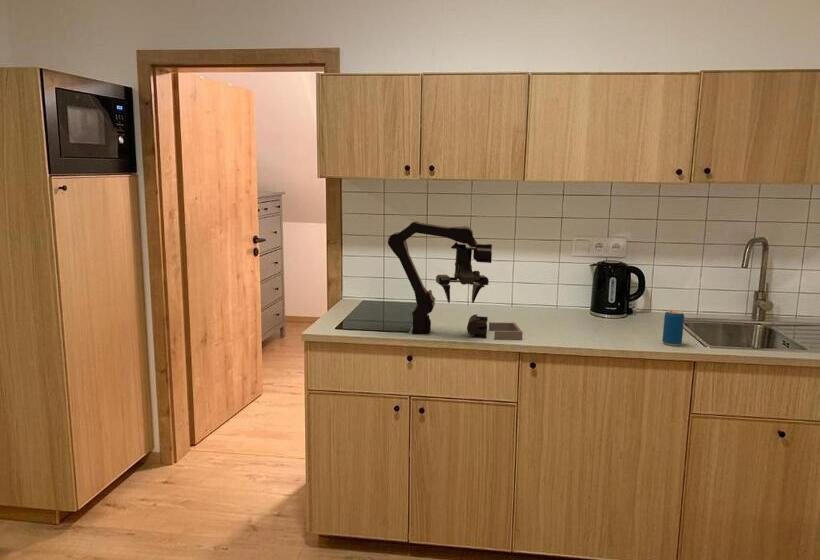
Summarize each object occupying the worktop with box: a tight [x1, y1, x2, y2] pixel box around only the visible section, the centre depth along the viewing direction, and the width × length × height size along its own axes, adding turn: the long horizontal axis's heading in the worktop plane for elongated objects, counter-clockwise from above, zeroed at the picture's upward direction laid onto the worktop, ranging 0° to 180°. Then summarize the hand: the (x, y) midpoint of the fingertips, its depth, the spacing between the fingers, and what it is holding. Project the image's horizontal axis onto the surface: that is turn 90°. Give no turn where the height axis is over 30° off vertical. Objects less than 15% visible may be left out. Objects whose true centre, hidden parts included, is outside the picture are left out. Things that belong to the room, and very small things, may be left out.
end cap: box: [466, 313, 489, 339], centre depth 237 cm, size 10×7×7 cm
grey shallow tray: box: [488, 321, 523, 341], centre depth 238 cm, size 10×14×3 cm
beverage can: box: [662, 309, 685, 347], centre depth 228 cm, size 6×6×12 cm
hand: (460, 302), depth 236 cm, fingers open, 9 cm apart
